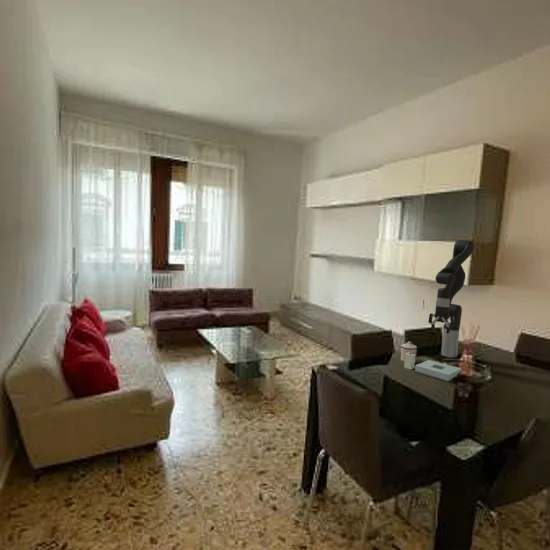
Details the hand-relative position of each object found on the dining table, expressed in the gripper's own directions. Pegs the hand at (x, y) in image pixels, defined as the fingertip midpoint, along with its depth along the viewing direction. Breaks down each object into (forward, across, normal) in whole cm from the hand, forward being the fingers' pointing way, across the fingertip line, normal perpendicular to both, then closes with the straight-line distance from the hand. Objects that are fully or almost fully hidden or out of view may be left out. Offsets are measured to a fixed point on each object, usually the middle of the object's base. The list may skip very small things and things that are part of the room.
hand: (440, 331), depth 227 cm
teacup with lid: (+18, +12, +14) cm, 26 cm away
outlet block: (+19, -9, +25) cm, 33 cm away
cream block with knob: (+19, +6, +27) cm, 34 cm away
